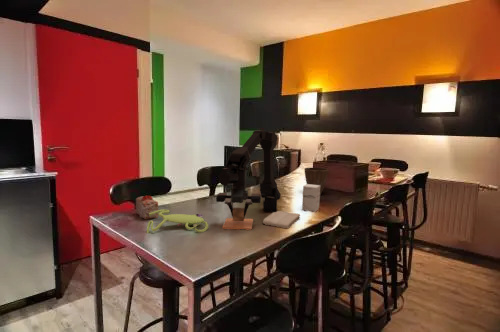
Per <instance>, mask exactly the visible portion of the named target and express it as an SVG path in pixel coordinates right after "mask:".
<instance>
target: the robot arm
mask: <svg viewBox="0 0 500 332" xmlns="http://www.w3.org/2000/svg"><path fill="white" fill-rule="evenodd" d="M277 143H278V135H277V134H276V133H275V132H273V131H266V130H261V129H260V130H259V129H255V130H253V132H252V134H251V135H250V136H249V138H248V139H247V140H246V142H244V144H243V145H242V146H241V147H239V148H237V149H235V150H233V151H232V152H231V153H230V154H229V158H228V160H227V163H226V164H225V167H224V168H221V169H222V170H221V172H220V173H219V174H218V176H217V177H218V178H217V179H218V182H219V184H220V185H222V186H229V185H231V192H230V194H228V192H219V193H217V194H216V196H215V200H216V203H224V204H226V205H227V206H228V208H229V210H230V211H229V212H230V213H231V216H232V217H231V218H233V209H234V208H235V207H234V204H235V203H237V204H238V203H239V204H242V203H245V204H244V219H246V218H245V217H246V215H247V211H248V209H249V206H250V205H253V204H260V203H261V199H263V205H262V207H263V209H262V210H263V211H264V212H272V213H273V212H277V211H278V206H277V205H278V201H279V200H280V199H281V196H282V195H281V192H280V191H279V189H278V183H277V182H276V180H275V178H274V177H275V176H274V174H275V173H274V171H275V170H274V167H275V166H274V164H275V163H274V150H275V149H276V147H277ZM258 146H260V147H261V149H262V153H263V156H262V157H263V179H262V182H260V183H259V193H251V195H249V190H247V189H246V182H247V181H246V179H247V178H246V175H247V174H246V173H247V171H248V170H249V168H248V167H247V165H248V163H250V160H251V154H252V153H253V151H255V149H256V148H257V147H258Z"/></svg>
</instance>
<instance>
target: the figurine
mask: <svg viewBox="0 0 500 332" xmlns="http://www.w3.org/2000/svg"><path fill="white" fill-rule="evenodd" d="M170 212H171V211H170V210H169V209H164V208H163V209H159V210H158V211H154V212H151V213H149V216H150V215H153V214H156V213H158V217H160V218H162V219H163V220H162V221H161V222H159V224H157V226H155V227H154V222H153V220H149V221H148V223H147V227H146V234H149V233H150V231H152V232H156V231H158V230H159V229H160V228H162V226H163V225H164V224H165V223H166V222H170V223H176V224H177V226H178V227H179V226H181V225H184V226H185V229H186V230H192V229H194V231H195V232H196V233H204V232H207V230H208V229H209V223H208V222H207V221H205V219H204V218H203V214H200V213H195V214H182V213H178V214H177V213H171V214H170ZM201 224H204V225H205V227H204V228H203V229H197V228H196V227H197V226H199V225H201ZM190 226H193V227H190Z"/></svg>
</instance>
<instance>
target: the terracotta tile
mask: <svg viewBox="0 0 500 332" xmlns="http://www.w3.org/2000/svg"><path fill="white" fill-rule="evenodd" d="M253 223H254V218H244V221H233V217H227V218H226V219H225V221H224V223H223V226H222V229H223V230H240V229H246V230H245V231H252V230H253V229H252V228H253ZM251 229H252V230H251Z"/></svg>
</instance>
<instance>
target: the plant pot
mask: <svg viewBox="0 0 500 332" xmlns="http://www.w3.org/2000/svg"><path fill="white" fill-rule="evenodd" d="M328 173H329V169H328V168H325V167H305V168H304V176H305V183H306V184H312V185H320V195H322V192H323V191H324V188H325V186H326V183H327V178H328Z"/></svg>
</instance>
